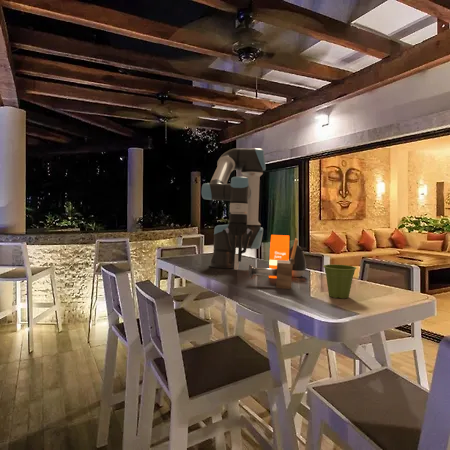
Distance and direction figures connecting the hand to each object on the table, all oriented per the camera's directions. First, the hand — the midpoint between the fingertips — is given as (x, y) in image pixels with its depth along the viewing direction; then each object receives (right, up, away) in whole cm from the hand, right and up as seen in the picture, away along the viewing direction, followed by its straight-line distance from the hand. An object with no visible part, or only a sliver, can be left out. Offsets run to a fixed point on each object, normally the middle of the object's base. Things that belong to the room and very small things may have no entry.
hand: (236, 269), depth 152 cm
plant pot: (+38, -8, -18) cm, 42 cm away
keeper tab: (+23, +8, -3) cm, 25 cm away
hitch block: (+20, -7, -2) cm, 21 cm away
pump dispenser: (+29, -6, +22) cm, 38 cm away
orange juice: (+21, -6, +19) cm, 29 cm away
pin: (+14, -4, -2) cm, 14 cm away
